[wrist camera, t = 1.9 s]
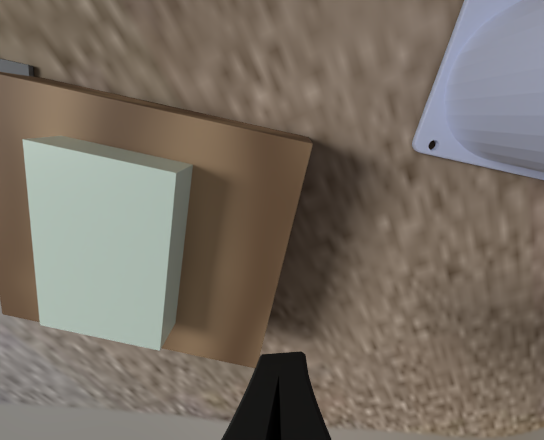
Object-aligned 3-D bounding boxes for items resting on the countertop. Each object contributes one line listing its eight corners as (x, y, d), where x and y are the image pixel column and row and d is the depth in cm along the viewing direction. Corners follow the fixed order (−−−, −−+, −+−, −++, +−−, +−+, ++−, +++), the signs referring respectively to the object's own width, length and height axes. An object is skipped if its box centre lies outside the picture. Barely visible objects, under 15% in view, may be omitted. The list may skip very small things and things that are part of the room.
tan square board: (308, 137, 16) (313, 144, 12) (263, 322, 21) (256, 368, 17) (42, 77, 16) (-34, 66, 12) (55, 277, 20) (2, 314, 17)
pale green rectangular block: (192, 164, 13) (176, 172, 11) (175, 323, 16) (160, 350, 14) (61, 135, 13) (22, 138, 11) (69, 300, 16) (39, 324, 14)
